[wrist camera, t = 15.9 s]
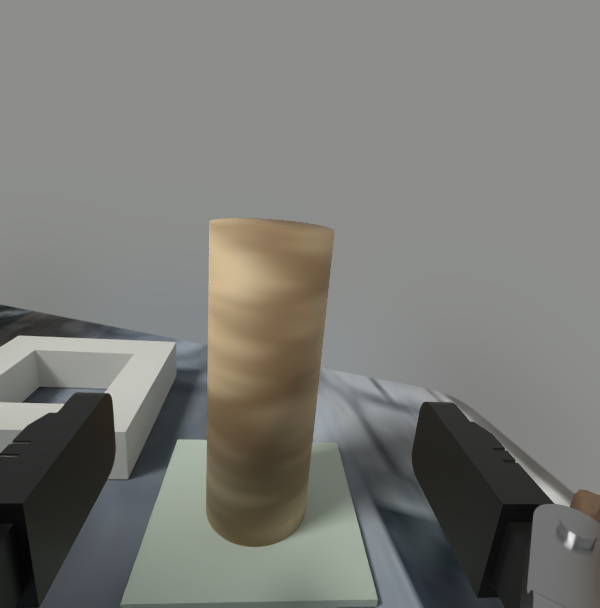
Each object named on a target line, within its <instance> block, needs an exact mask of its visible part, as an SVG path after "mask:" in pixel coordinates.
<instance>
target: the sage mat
mask: <svg viewBox="0 0 600 608" xmlns="http://www.w3.org/2000/svg"><path fill="white" fill-rule="evenodd" d="M206 468H207V440H179V439H178V440H177V443H176V446H175V448H174V451H173V454H172V457H171V460H170V463H169V466H168V469H167V471H166V474H165V477H164V480H163V483H162V486H161V489H160V492H159V494H158V497H157V500H156V503H155V506H154V509H153V512H152V515H151V517H150V520H149V523H148V526H147V529H146V532H145V535H144V538H143V540H142V543H141V546H140V549H139V552H138V555H137V558H136V561H135V563H134V566H133V569H132V572H131V575H130V578H129V581H128V584H127V586H126V589H125V592H124V595H123V598H122V601H121V604H120V608H337V607H377V602H378V598H377V594H376V590H375V586H374V582H373V579H372V575H371V571H370V567H369V563H368V559H367V556H366V552H365V548H364V544H363V540H362V536H361V533H360V529H359V525H358V521H357V517H356V514H355V510H354V506H353V502H352V498H351V494H350V491H349V487H348V483H347V479H346V475H345V471H344V468H343V464H342V460H341V456H340V452H339V448H338V445H337V443H333V442H312V451H311V461H310V470H309V480H308V490H307V499H306V509H305V515H304V518H303V521H302V523H301V524H300V526H299V527H298V529H297V530H296V531H295V532H294V533H293V534H292V535H290V536H289V537H288V538H286V539H284V540H282V541H280V542H278V543H276V544H272V545H269V546H263V547H246V546H241V545H237V544H234V543H231V542H229V541H227V540H225V539H224V538H222V537H221V536H220V535H218V534H217V533H216V532H215V531H214V529H213V528H212V527H211V525H210V523H209V521H208V519H207V514H206Z"/></svg>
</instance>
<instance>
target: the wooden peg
mask: <svg viewBox="0 0 600 608" xmlns="http://www.w3.org/2000/svg"><path fill="white" fill-rule="evenodd" d="M209 226H210V227H209V302H208V303H209V304H208V308H209V311H208V385H207V468H206V514H207V519H208V521H209V523H210V525H211V527H212V528H213V529H214V531H215V532H216V533H217V534H218V535H220V536H221V537H222V538H224V539H225V540H227V541H229V542H231V543H234V544H237V545H241V546H246V547H263V546H269V545H272V544H276V543H278V542H280V541H282V540H284V539H286V538H288V537H289V536H290V535H292V534H293V533H294V532H295V531H296V530H297V529H298V527H299V526H300V524H301V523H302V521H303V518H304V515H305V509H306V499H307V490H308V480H309V470H310V461H311V451H312V442H313V432H314V422H315V413H316V403H317V393H318V384H319V374H320V365H321V355H322V345H323V336H324V326H325V316H326V307H327V297H328V288H329V278H330V268H331V258H332V249H333V240H334V230H333V229H330V228H328V227H324V226H320V225H314V224H308V223H301V222H293V221H284V220H272V219H253V218H224V219H215V220H211V221H210V222H209Z"/></svg>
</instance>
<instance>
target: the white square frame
mask: <svg viewBox="0 0 600 608" xmlns="http://www.w3.org/2000/svg"><path fill="white" fill-rule="evenodd" d="M176 376H177V370H176V342H159V341H135V340H112V339H88V338H65V337H41V336H17V337H16V338H14V339H12V340H11V341H9V342H8V343H6V344H4V345H3V346H1V347H0V453H1V452H2V451H3V450H4V449H5V448H6V447H7V446H8V445H9V444H12V441H13V440H14V439H15V437H16V436H17V435H18V434H19V433H20V432H21V431H22V430H23V429H24V428H25V427H26V426H27V425H29V424H30V423H32V422H34V421H36V420H37V419H39V418H41V417H43V416H44V415H46V414H48V413H57V412H58V411H59V410H60V409H61V408H62V407H63V406H64V404H46V403H22V402H23V401H24V400H25V399H26V398H28V397H29V396H30V395H31V394H32V393H33V392H34V391H35V390H36V389H37V388H39V387H62V388H95V389H107V390H106V391H105V393H109V394H110V395H111V397H112V401H113V413H114V428H115V442H116V453H115V460H114V464H113V468H112V471H111V473H110V475H109V477H108V479H129V476H130V474H131V472H132V470H133V468H134V466H135V464H136V461H137V459H138V457H139V455H140V453H141V451H142V449H143V446H144V444H145V442H146V440H147V438H148V436H149V434H150V431H151V429H152V427H153V425H154V423H155V421H156V419H157V416H158V414H159V412H160V410H161V408H162V406H163V404H164V401H165V399H166V397H167V395H168V393H169V391H170V389H171V386H172V384H173V382H174V380H175V378H176Z"/></svg>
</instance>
